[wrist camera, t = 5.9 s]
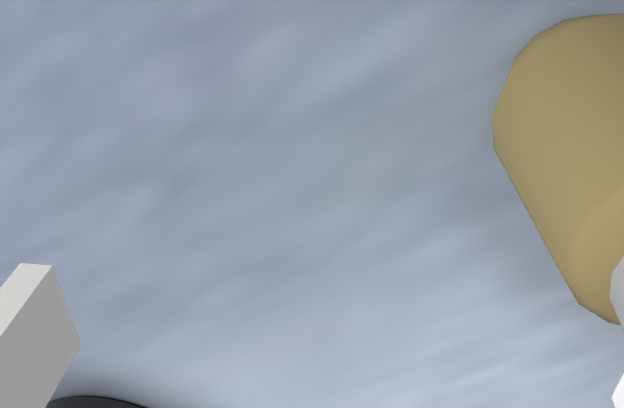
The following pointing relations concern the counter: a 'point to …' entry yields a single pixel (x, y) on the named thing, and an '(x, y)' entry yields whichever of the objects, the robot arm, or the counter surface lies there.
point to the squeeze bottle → (571, 152)
